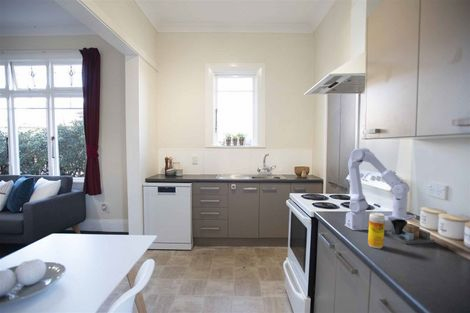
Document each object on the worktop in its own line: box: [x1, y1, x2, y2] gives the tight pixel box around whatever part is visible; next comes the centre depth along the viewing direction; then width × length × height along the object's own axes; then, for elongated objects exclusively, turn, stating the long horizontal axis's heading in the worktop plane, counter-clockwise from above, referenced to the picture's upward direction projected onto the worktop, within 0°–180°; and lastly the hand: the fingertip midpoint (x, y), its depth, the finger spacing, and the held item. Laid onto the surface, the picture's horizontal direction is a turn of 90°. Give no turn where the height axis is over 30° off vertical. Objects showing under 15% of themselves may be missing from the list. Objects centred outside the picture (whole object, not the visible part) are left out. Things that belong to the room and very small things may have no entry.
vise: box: [385, 228, 435, 245], centre depth 121 cm, size 16×12×4 cm
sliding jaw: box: [391, 225, 414, 240], centre depth 120 cm, size 3×10×3 cm, turn 10°
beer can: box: [367, 211, 386, 249], centre depth 111 cm, size 6×6×15 cm
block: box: [403, 223, 421, 237], centre depth 121 cm, size 4×4×5 cm
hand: (397, 234), depth 120 cm, fingers closed
